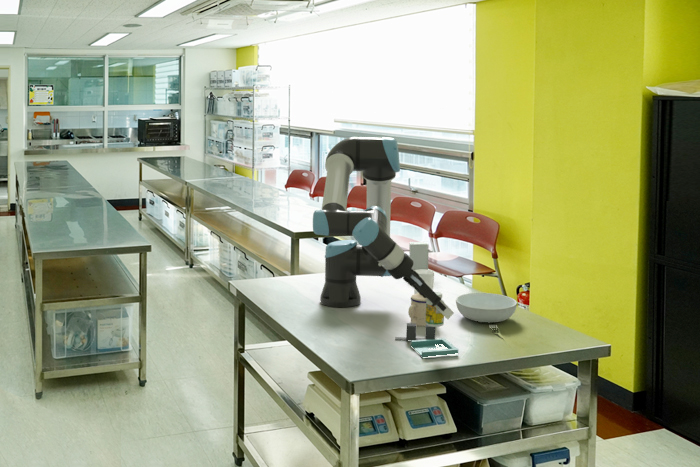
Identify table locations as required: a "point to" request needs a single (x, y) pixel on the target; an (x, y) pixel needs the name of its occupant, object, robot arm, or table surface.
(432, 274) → the white cup
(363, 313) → the table surface
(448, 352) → the open-sided tray holder
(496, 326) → the fork
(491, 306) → the serving bowl
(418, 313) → the teacup with lid
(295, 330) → the table surface
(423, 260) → the skincare box
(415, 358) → the table surface
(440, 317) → the supplement bottle
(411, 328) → the clip posts
